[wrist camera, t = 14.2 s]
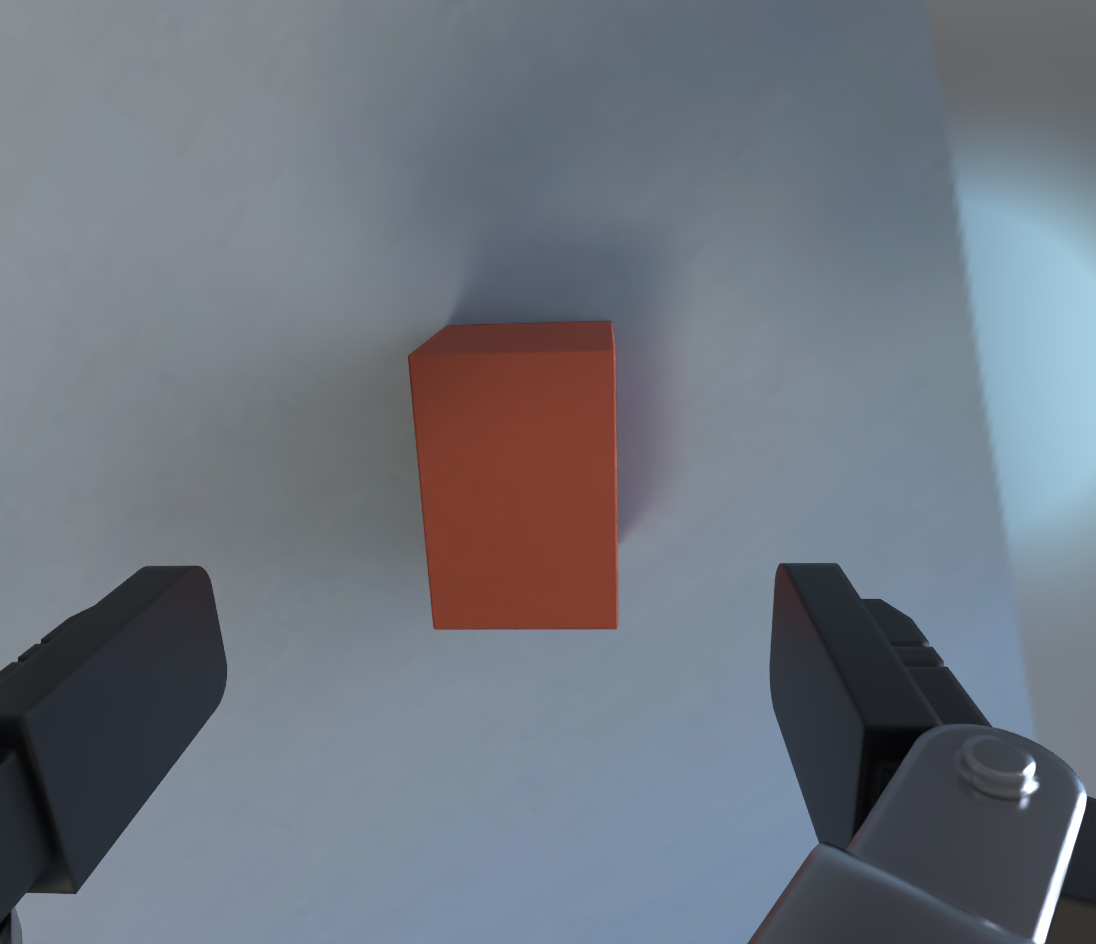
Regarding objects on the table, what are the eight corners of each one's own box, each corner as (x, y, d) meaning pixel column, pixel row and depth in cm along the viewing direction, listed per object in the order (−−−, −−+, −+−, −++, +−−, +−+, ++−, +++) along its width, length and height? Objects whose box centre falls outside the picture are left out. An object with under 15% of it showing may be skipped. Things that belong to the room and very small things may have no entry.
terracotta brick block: (615, 552, 21) (618, 630, 17) (462, 553, 21) (432, 630, 17) (612, 320, 19) (615, 349, 15) (445, 325, 19) (406, 355, 15)
